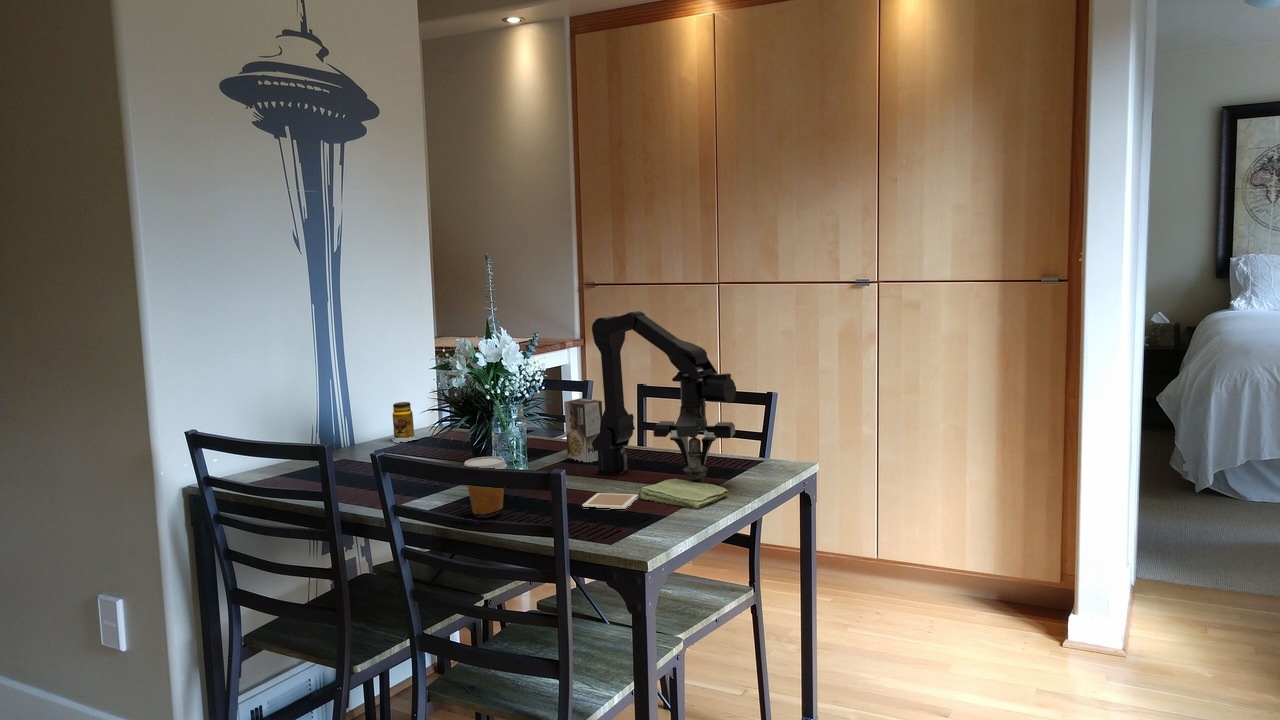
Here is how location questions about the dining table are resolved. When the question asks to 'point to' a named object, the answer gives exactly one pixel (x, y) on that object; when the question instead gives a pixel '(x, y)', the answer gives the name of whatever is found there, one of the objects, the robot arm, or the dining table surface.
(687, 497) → the washcloth
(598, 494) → the coaster
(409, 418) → the condiment
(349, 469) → the dining table surface
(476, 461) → the disposable coffee cup
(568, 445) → the coffee box
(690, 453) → the salt shaker
